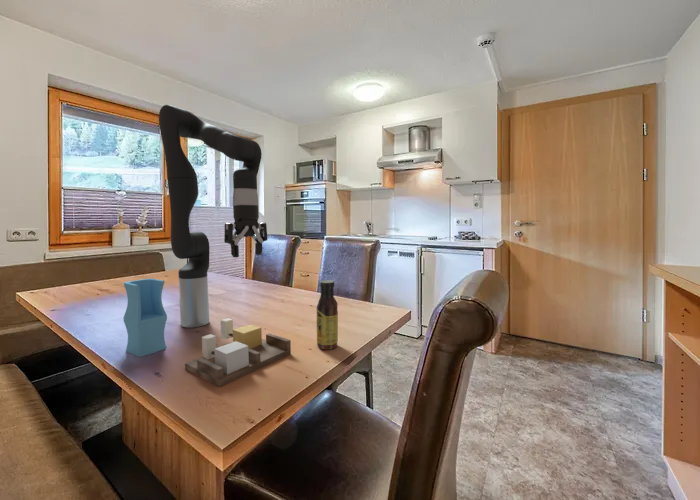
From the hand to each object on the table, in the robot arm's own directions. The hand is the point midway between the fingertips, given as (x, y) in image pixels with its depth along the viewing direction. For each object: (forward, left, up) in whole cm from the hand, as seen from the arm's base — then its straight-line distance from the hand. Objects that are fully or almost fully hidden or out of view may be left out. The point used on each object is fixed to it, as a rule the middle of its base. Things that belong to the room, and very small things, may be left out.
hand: (247, 255), depth 102 cm
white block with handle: (+13, -18, -25) cm, 33 cm away
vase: (-15, -24, -26) cm, 39 cm away
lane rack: (+14, -13, -26) cm, 32 cm away
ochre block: (+5, -8, -25) cm, 26 cm away
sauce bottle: (+26, +8, -26) cm, 38 cm away
